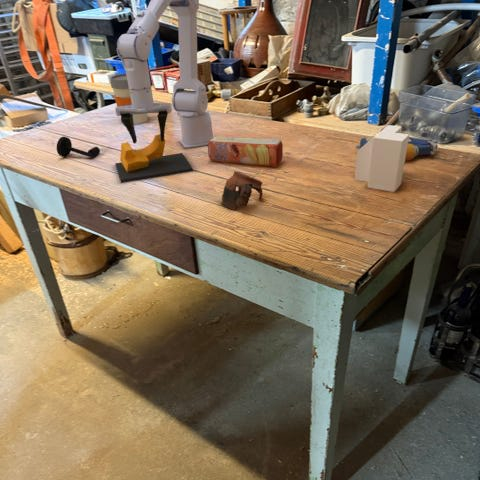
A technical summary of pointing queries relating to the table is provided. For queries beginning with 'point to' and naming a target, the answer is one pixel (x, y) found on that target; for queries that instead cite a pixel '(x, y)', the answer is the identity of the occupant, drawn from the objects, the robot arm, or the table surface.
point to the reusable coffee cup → (125, 95)
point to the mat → (156, 168)
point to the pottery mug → (240, 190)
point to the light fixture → (66, 147)
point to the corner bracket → (383, 159)
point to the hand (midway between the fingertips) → (149, 141)
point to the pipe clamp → (141, 154)
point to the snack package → (246, 150)
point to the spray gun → (412, 146)
